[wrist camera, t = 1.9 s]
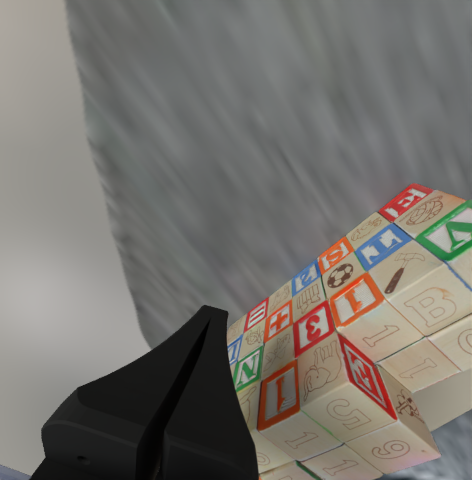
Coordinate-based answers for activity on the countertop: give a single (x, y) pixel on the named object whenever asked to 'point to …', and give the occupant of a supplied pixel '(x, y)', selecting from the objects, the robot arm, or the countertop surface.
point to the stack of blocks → (359, 344)
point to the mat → (445, 399)
